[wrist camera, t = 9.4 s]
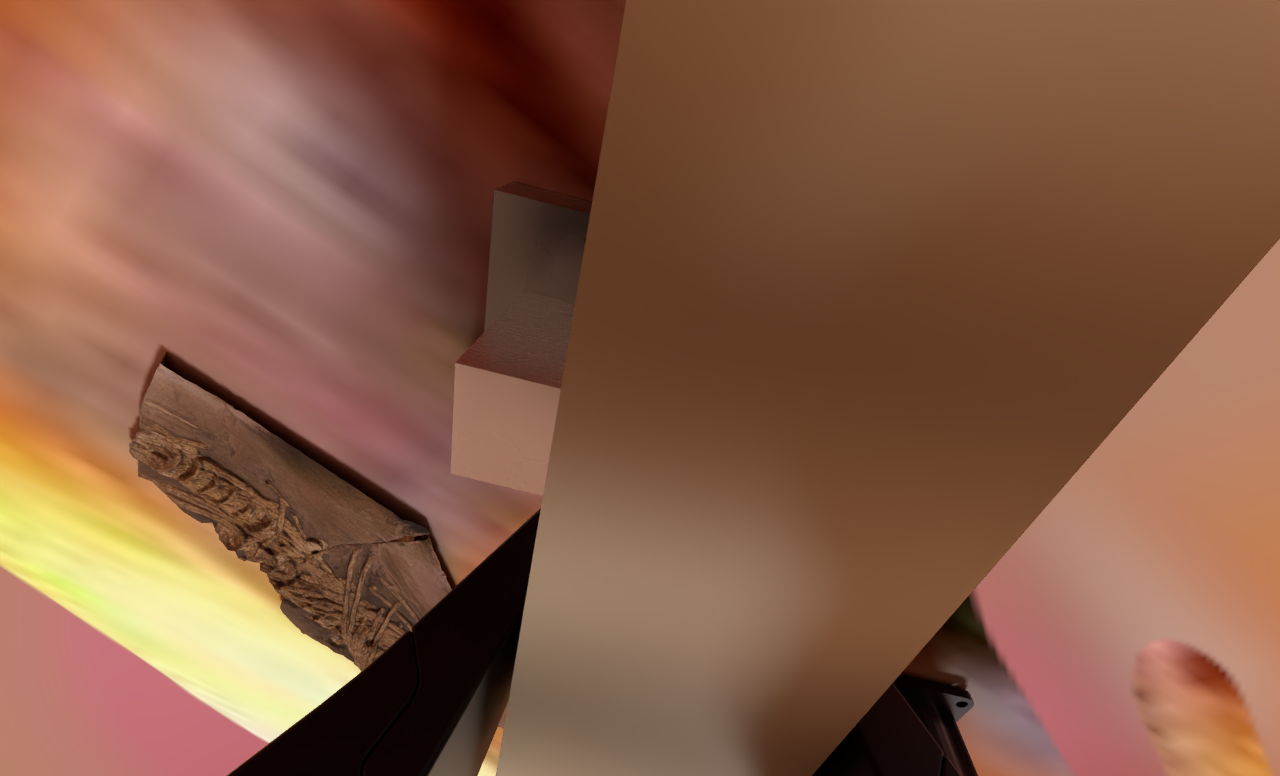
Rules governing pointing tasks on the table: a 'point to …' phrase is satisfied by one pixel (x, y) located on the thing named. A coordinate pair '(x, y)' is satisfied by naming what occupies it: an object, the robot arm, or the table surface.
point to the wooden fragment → (290, 520)
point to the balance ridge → (520, 339)
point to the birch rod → (859, 342)
